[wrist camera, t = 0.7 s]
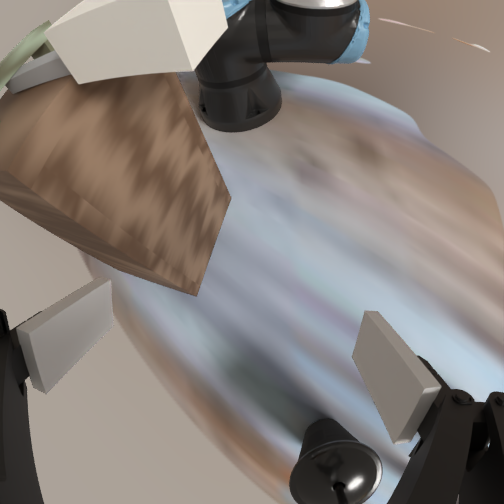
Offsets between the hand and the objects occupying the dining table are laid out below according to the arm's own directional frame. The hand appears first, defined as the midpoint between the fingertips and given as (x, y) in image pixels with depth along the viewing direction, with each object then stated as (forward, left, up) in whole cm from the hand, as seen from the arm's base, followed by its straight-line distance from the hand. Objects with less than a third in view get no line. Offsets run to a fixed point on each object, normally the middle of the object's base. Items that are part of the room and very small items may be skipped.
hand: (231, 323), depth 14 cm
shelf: (-10, -18, -22) cm, 30 cm away
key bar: (-10, -11, +8) cm, 17 cm away
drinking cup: (+11, +10, -22) cm, 27 cm away
